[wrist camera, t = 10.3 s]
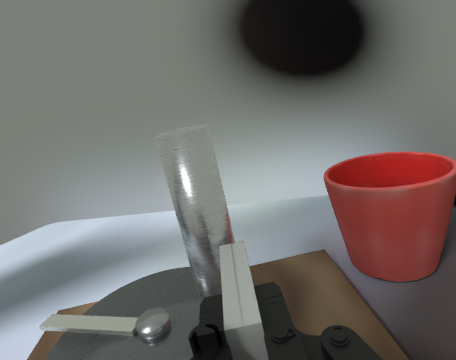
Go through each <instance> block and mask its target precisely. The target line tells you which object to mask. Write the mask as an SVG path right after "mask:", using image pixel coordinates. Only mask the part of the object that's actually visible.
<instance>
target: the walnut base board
mask: <svg viewBox="0 0 456 360" xmlns="http://www.w3.org/2000/svg"><path fill="white" fill-rule="evenodd" d="M249 268H250V272H251V277H252V281H253V286H255V285H260V284H264V283H269V282H273V281H274V282H275V283H276V284H277V285H278V286H280V288H281V291H282V294H283V297H284V299H285V302H286V305H287V308H288V311H289V313H290V316H291V319H292V322H293V324H294V326H295V327H296V328H297V329H298V330H299V331H300V332H302V333H305V334H308V335H318V336H321V333H322V332H323V330H324V329H326V328H327V327H329V326H333V325H343V326H346V327H349V328H350V329H352V330H353V331H355V332H356V333H357V334H358V335H359V336H360V337H361V338H362V339H363V340H364V341H365V342H366V343H367V344H368V345H369V346H370V347H371V348H372V349H373V350H374V351H375V352H376V353H377V354H378V355H379V356H380V357H381V358H382V359H383V360H409V359H408V358H407V356H406V355H405V354H404V352H403V351H402V350H401V348H400V347H399V346H398V345H397V343H396V342H395V341H394V339H393V338H392V337H391V335H390V334H389V333H388V332H387V330H386V329H385V328H384V326H383V325H382V324H381V322H380V321H379V320H378V319H377V317H376V316H375V315H374V313H373V312H372V311H371V309H370V308H369V307H368V306H367V304H366V303H365V302H364V300H363V299H362V298H361V297H360V295H359V294H358V293H357V291H356V290H355V289H354V287H353V286H352V285H351V284H350V282H349V281H348V280H347V278H346V277H345V276H344V274H343V273H342V272H341V271H340V269H339V268H338V267H337V265H336V264H335V263H334V261H333V260H332V259H331V258H330V256H329V255H328V254H327V252H326V251H325V250H324V249H323V250H319V251H314V252H310V253H306V254H301V255H297V256H293V257H288V258H284V259H280V260H275V261H271V262H267V263H262V264H258V265H254V266H249ZM98 302H99V301H98ZM96 303H97V302H94V303H89V304H85V305H81V306H76V307H72V308H68V309H63V310H59V311H58V312H57V313H56V314H60V315H82V314H83V313H85V312H86V311H87V310H88V309H89V308H90V307H92V306H93V305H95V304H96ZM63 333H64V332H59V331H45V332H44V334H43V335H42V337H41V338H40V340H39V342H38V343H37V345H36V346H35V348H34V349H33V351H32V353H31V354H30V356H29V357H28V359H27V360H46V358H47V356H48V355H49V353H50V352H51V350H52V348H53V347H54V345H55V344H56V343H57V341H58V340H59V339H60V337H61V336H62V335H63Z"/></svg>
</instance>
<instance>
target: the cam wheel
mask: <svg viewBox="0 0 456 360" xmlns="http://www.w3.org/2000/svg"><path fill="white" fill-rule="evenodd" d="M155 139H156V143H157V147H158V151H159V154H160V158H161V161H162V165H163V169H164V172H165V176H166V179H167V183H168V187H169V190H170V194H171V198H172V201H173V205H174V208H175V212H176V216H177V219H178V223H179V226H180V230H181V234H182V237H183V241H184V245H185V248H186V252H187V255H188V259H189V263H190V266H191V267H183V268H176V269H171V270H166V271H162V272H158V273H155V274H152V275H149V276H146V277H143V278H141V279H138V280H136V281H134V282H131V283H129V284H127V285H125V286H123V287H121V288H119V289H118V290H116V291H114V292H112V293H111V294H109V295H108V296H106V297H104V298H103V299H101V300H100V301H99V302H97V303H96V304H95V305H93V306H92V307H90V308H89V309H88V310H87V311H86V312H85V313H83V314H82V315H60V314H52V315H51V316H50V317H49V318H48V319H47V320H46V321H44V322H43V323H42V324H41V325H40V326H39V327H40V329H41V330H43V331H59V332H64V333H63V335H62V336H61V337H60V339H59V340H58V341H57V343H56V344H55V345H54V347H53V348H52V350H51V352H50V353H49V355H48V356H47V358H46V360H190V359H191V358H192V357H193V356H194V355H193V352H192V349H191V345H190V342H189V339H188V337H189V334H190V332H191V331H192V330H193V328H195V327H196V326H197V325H199V315H200V314H199V313H200V304H201V302H202V301H203V299H204V297H209V296H213V295H218V294H222V284H221V268H220V251H219V246H222V245H226V244H231V243H235V241H234V236H233V232H232V227H231V223H230V218H229V214H228V209H227V205H226V201H225V196H224V192H223V187H222V183H221V178H220V174H219V169H218V165H217V160H216V156H215V152H214V147H213V143H212V138H211V134H210V130H209V125H208V124H201V125H195V126H188V127H184V128H179V129H175V130H172V131H168V132H165V133H162V134H159V135H157V136H155Z"/></svg>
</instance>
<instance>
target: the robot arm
mask: <svg viewBox="0 0 456 360" xmlns="http://www.w3.org/2000/svg"><path fill="white" fill-rule="evenodd" d="M219 251H220V268H221V284H222V294H218V295H213V296H209V297H204V299H203V301H202V302H201V304H200V313H199V314H200V315H199V325H197V326H196V327H195V328H193V330H192V331H191V332H190V334H189V337H188V339H189V342H190V345H191V349H192V352H193V355H194V356H193V357H192V358H191V359H190V360H383V359H382V358H381V357H380V356H379V355H378V354H377V353H376V352H375V351H374V350H373V349H372V348H371V347H370V346H369V345H368V344H367V343H366V342H365V341H364V340H363V339H362V338H361V337H360V336H359V335H358V334H357V333H356V332H355V331H353V330H352V329H350V328H349V327H346V326H343V325H333V326H329V327H327V328H326V329H324V330H323V332H322V333H321V336H318V335H308V334H305V333H302V332H300V331H299V330H298V329H297V328H296V327H295V326H294V324H293V322H292V319H291V316H290V313H289V311H288V308H287V305H286V302H285V299H284V297H283V294H282V291H281V288H280V286H278V285H277V284H276V283H275V282H274V281H273V282H269V283H264V284H260V285H255V286H253V281H252V277H251V272H250V268H249V264H248V259H247V255H246V250H245V246H244V241H240V242H235V243H231V244H226V245H222V246H219Z"/></svg>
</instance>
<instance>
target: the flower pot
mask: <svg viewBox="0 0 456 360" xmlns="http://www.w3.org/2000/svg"><path fill="white" fill-rule="evenodd" d="M324 181H325V185H326V188H327V191H328V194H329V198H330V201H331V204H332V207H333V210H334V213H335V216H336V219H337V222H338V225H339V228H340V231H341V234H342V236H343V239H344V242H345V245H346V248H347V250H348V253H349V256H350V259H351V261H352V263H353V265H354V266H355V267H356V268H357V269H358V270H359V271H361V272H362V273H364V274H366V275H368V276H370V277H373V278H380V279H383V280H385V281H393V282H407V281H414V280H418V279H422V278H425V277H427V276H429V275H431V274H432V273H433V272H434V271H435V270H436V269H437V267H438V264H439V260H440V256H441V253H442V249H443V246H444V242H445V238H446V234H447V230H448V226H449V222H450V217H451V212H452V208H453V203H454V198H455V194H456V161H455V160H454V159H451V158H449V157H446V156H443V155H438V154H432V153H424V152H387V153H377V154H370V155H365V156H359V157H355V158H352V159H348V160H345V161H343V162H340V163H338V164H335V165H334V166H332V167H331V168H329V169H328V170H327V171H326V172H325V174H324Z"/></svg>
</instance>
